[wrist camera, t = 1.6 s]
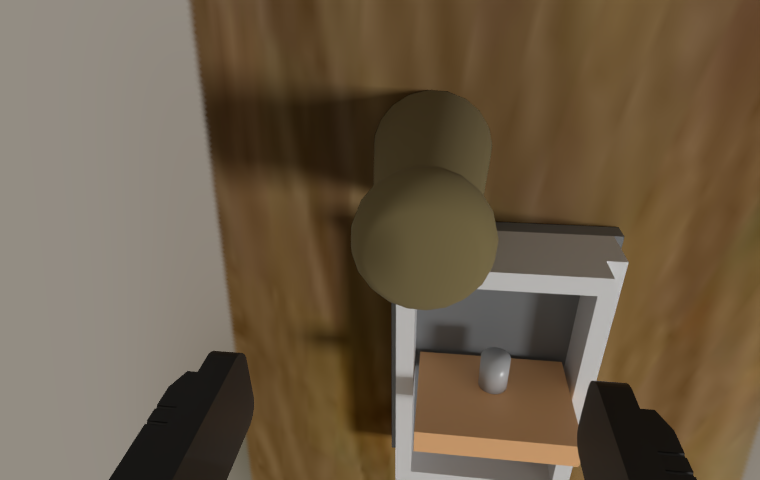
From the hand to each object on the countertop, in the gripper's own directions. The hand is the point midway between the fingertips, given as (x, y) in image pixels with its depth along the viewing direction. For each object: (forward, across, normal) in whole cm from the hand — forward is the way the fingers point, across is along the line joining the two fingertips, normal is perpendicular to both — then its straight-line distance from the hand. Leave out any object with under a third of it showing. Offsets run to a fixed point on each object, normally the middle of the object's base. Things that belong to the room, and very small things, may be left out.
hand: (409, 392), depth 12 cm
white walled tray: (+16, -4, +13) cm, 21 cm away
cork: (+17, 0, 0) cm, 17 cm away
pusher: (+15, -4, +12) cm, 20 cm away
